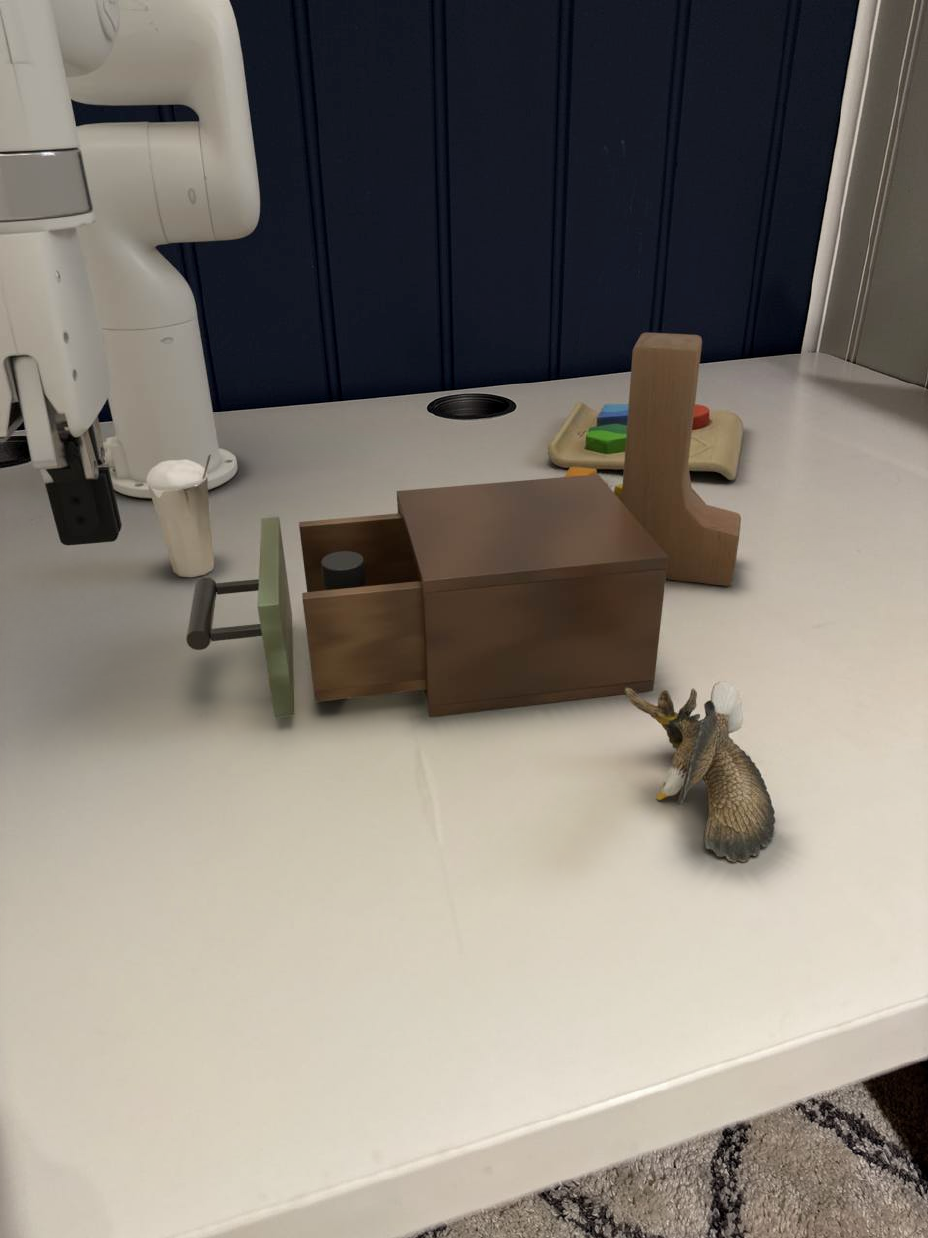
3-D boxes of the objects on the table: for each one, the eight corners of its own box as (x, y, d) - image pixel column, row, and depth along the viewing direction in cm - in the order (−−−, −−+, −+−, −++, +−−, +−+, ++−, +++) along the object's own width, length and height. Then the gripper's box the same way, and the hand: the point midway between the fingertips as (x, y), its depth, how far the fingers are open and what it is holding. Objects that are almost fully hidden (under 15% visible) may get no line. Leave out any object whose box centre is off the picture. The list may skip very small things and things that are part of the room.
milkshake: (217, 584, 71) (196, 465, 66) (155, 579, 72) (129, 461, 67) (240, 559, 75) (222, 444, 70) (181, 554, 76) (159, 441, 71)
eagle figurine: (586, 746, 51) (647, 833, 43) (653, 640, 50) (729, 708, 41) (689, 793, 53) (766, 884, 45) (755, 694, 52) (847, 768, 44)
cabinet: (429, 717, 56) (423, 580, 51) (403, 610, 67) (396, 490, 62) (653, 690, 58) (668, 556, 53) (591, 591, 69) (598, 473, 64)
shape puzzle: (578, 416, 106) (579, 387, 105) (743, 429, 101) (747, 399, 100) (525, 496, 86) (525, 462, 84) (729, 518, 80) (734, 482, 79)
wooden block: (734, 562, 73) (768, 336, 64) (731, 588, 69) (767, 352, 60) (623, 550, 75) (640, 330, 66) (615, 574, 72) (632, 345, 62)
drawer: (195, 727, 54) (171, 614, 50) (208, 623, 64) (190, 523, 60) (492, 692, 56) (492, 582, 52) (459, 598, 67) (456, 501, 63)
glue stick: (330, 653, 58) (321, 571, 55) (328, 632, 61) (320, 552, 58) (372, 649, 59) (365, 567, 56) (368, 628, 61) (362, 548, 58)
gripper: (-29, 186, 50) (53, 496, 59) (-137, 211, 37) (-11, 604, 46) (112, 181, 51) (171, 487, 60) (55, 205, 38) (141, 589, 47)
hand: (92, 537), depth 53 cm, fingers closed
